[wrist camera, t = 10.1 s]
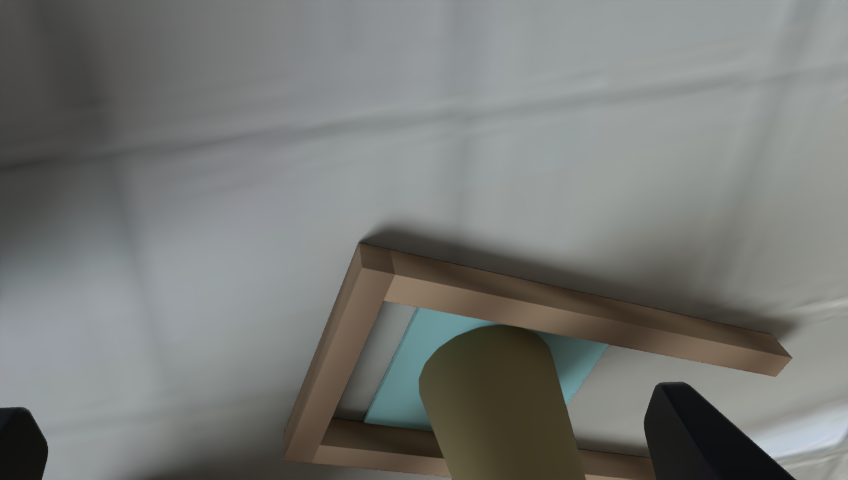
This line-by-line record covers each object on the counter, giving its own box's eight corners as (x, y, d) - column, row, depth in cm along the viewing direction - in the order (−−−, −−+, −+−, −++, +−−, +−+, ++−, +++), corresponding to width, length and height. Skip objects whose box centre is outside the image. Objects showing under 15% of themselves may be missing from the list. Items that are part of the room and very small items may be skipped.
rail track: (284, 431, 28) (283, 460, 27) (358, 242, 23) (362, 267, 22) (652, 474, 35) (665, 498, 34) (772, 335, 30) (792, 358, 29)
